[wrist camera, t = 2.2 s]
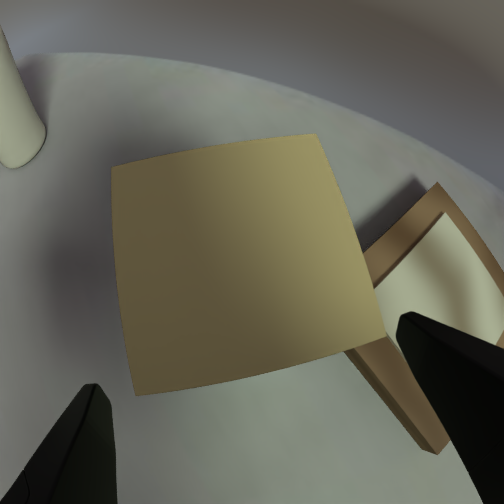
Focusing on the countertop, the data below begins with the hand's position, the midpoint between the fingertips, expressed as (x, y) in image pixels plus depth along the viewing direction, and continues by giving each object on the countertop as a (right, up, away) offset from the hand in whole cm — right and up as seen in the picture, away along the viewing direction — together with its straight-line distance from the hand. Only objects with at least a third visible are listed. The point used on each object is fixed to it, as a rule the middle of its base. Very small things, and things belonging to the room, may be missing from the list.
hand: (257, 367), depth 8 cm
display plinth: (+13, -1, +11) cm, 17 cm away
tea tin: (-1, -1, +10) cm, 10 cm away
